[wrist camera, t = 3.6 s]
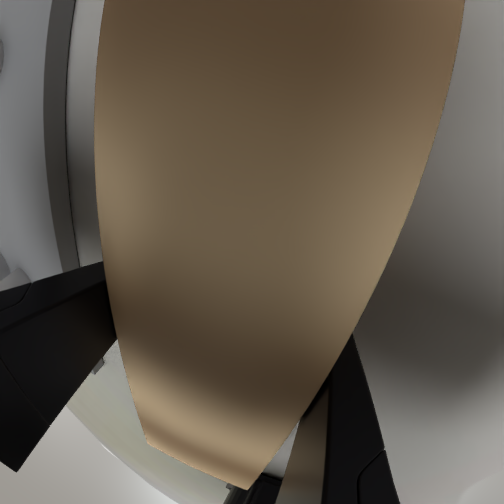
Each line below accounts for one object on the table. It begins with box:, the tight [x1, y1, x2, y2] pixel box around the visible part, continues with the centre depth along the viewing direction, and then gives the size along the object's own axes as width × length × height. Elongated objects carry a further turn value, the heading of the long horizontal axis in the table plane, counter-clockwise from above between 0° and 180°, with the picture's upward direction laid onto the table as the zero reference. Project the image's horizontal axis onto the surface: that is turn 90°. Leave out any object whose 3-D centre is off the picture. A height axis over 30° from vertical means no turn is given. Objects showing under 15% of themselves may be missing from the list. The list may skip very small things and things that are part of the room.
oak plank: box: [94, 0, 465, 490], centre depth 8 cm, size 18×5×4 cm, turn 171°
